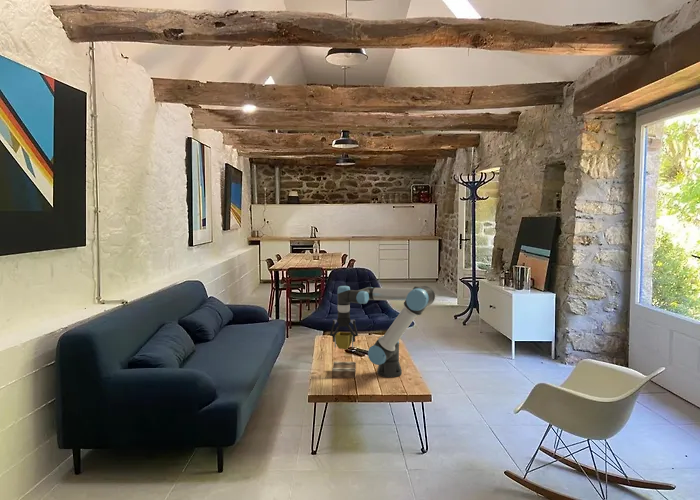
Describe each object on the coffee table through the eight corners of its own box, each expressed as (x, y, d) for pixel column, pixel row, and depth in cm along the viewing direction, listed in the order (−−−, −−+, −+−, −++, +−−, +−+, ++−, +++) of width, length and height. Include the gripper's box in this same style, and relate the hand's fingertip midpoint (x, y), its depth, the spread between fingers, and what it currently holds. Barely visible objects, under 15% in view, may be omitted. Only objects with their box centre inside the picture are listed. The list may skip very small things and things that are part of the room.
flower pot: (339, 345, 306) (339, 331, 305) (353, 346, 303) (352, 332, 302) (334, 349, 298) (334, 334, 297) (348, 350, 295) (348, 336, 294)
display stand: (355, 370, 308) (355, 361, 308) (355, 377, 294) (355, 368, 294) (333, 370, 309) (333, 361, 308) (332, 377, 295) (332, 368, 294)
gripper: (362, 310, 302) (362, 345, 304) (326, 310, 303) (326, 345, 304) (362, 312, 295) (362, 348, 296) (325, 312, 295) (325, 348, 297)
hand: (344, 347), depth 300 cm, fingers closed on flower pot, 10 cm apart
